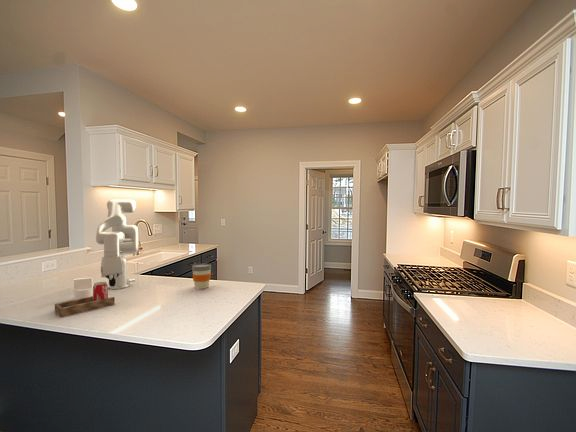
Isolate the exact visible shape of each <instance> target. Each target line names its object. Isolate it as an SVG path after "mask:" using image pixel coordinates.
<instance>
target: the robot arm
mask: <svg viewBox="0 0 576 432" xmlns="http://www.w3.org/2000/svg"><path fill="white" fill-rule="evenodd" d="M106 208H107V210H108V212H107V218H104V220H103V221H101V223H99V224H98V226H97V229H96V234H95V235H96V236H95V241H96V243H97V244H98V245H103V257H102V258H101V262H100V274H101V276H100V277H101V278H105V279H106V278H107V280H108V290H120V289H125V288H127V287H130V286H131V283H134V282H136V279H135V278H128V260H127V258H126V256H124V255H133V254H137V253H138V252H139V243H140V242H139V238H140V237H139V229H138V226H137V225H135V224H127V218H126V215H125V214H130V213H131V214H132V213H135V211H136V209H137V203H136V201H135V200H134V199H110V200H108V201H107V203H106ZM110 228H111V231H106V230H107V229H110Z"/></svg>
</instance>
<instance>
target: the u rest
mask: <svg viewBox="0 0 576 432" xmlns="http://www.w3.org/2000/svg"><path fill="white" fill-rule="evenodd" d="M115 301H116V299H115V296H110V297H108V298H106V299H101V300H96V301H93V296H91V297H86V298H81V299H76V300H74V299H72V300H67V301H62V302H57V303H54V312H55V313H56V315H58V316H59V317H60V318H62V317H63V318H64V317H67V316H70V315H71V316H72V315H75V314H80V313H83V312H88V311H93V310H96V309H101V308H104V307H109V306H114V305H115V304H116V303H115Z"/></svg>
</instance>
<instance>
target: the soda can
mask: <svg viewBox="0 0 576 432" xmlns="http://www.w3.org/2000/svg"><path fill="white" fill-rule="evenodd" d="M106 298H109V284H108V283H107V282H106V281H100V282H95V283H93V301H96V300H101V299H106Z"/></svg>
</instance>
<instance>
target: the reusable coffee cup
mask: <svg viewBox="0 0 576 432" xmlns="http://www.w3.org/2000/svg"><path fill="white" fill-rule="evenodd" d="M191 266H192V268H191V271H192V280H193V283H194V288H195V289H196V288H198V289H197V290H204V289H207V287H208V288H209V286H210V280H211V275H212V273H211V270H212V264H210V263H196V264H193V265H191ZM203 288H204V289H203Z"/></svg>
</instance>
